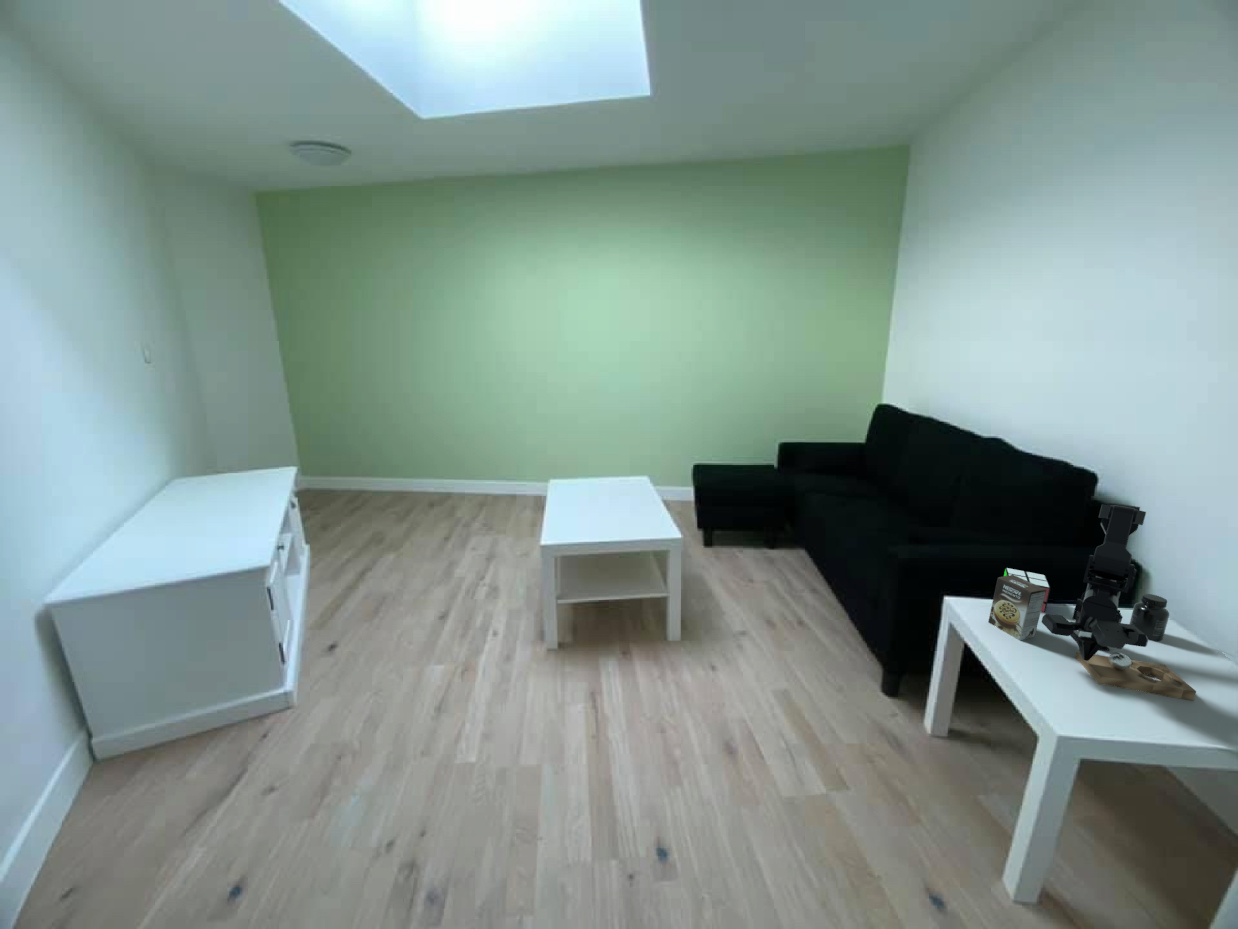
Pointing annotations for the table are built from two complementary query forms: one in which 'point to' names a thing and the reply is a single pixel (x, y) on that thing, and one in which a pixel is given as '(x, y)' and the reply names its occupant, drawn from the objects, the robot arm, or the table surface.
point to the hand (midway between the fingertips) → (1084, 659)
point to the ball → (1120, 661)
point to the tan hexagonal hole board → (1138, 677)
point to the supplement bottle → (1151, 616)
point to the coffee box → (1016, 606)
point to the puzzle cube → (1034, 579)
